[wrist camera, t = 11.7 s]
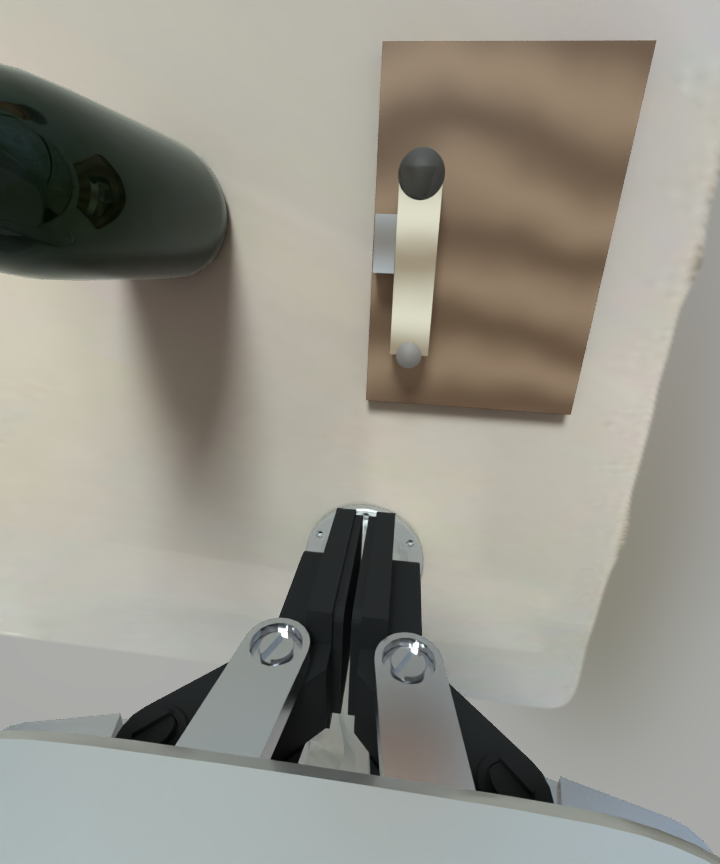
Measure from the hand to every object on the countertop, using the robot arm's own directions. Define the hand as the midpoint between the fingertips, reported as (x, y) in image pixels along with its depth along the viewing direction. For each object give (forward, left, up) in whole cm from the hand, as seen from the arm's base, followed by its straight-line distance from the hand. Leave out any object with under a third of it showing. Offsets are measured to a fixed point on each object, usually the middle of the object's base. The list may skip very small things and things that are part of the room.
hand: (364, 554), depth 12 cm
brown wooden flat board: (+9, -6, -29) cm, 31 cm away
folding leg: (+8, -1, -27) cm, 28 cm away
